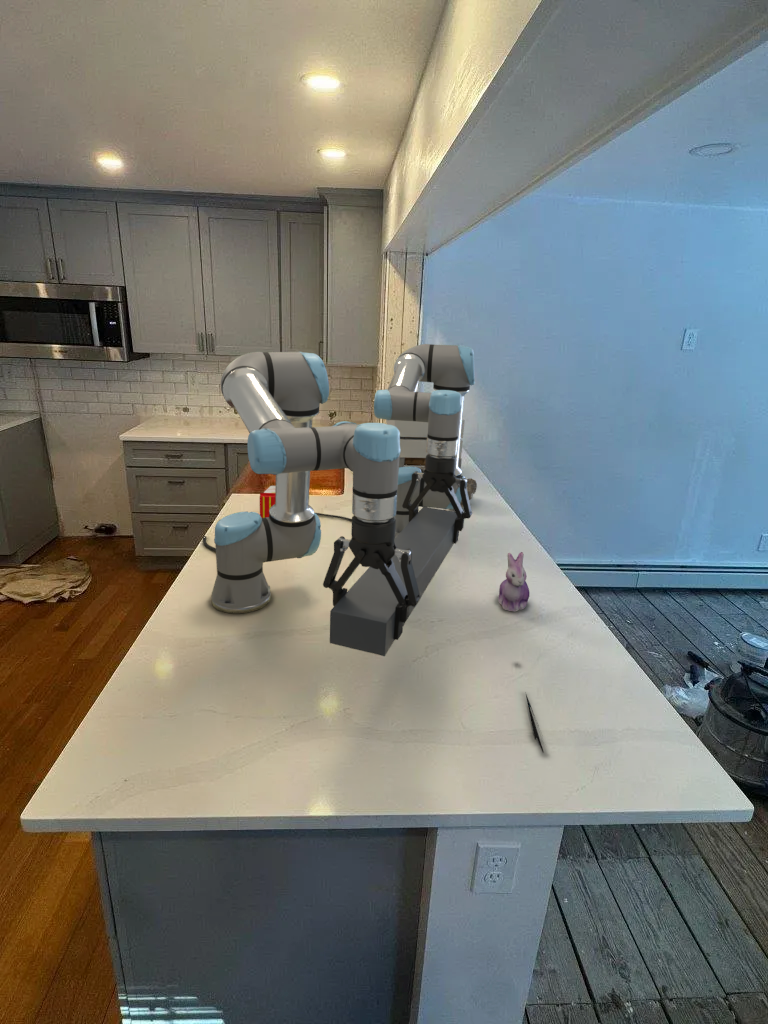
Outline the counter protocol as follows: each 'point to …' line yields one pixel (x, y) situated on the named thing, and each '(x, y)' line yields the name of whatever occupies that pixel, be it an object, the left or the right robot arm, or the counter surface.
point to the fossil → (470, 489)
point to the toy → (267, 501)
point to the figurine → (514, 585)
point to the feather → (534, 723)
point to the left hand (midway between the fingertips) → (369, 629)
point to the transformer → (416, 442)
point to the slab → (371, 600)
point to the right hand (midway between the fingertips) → (434, 538)
